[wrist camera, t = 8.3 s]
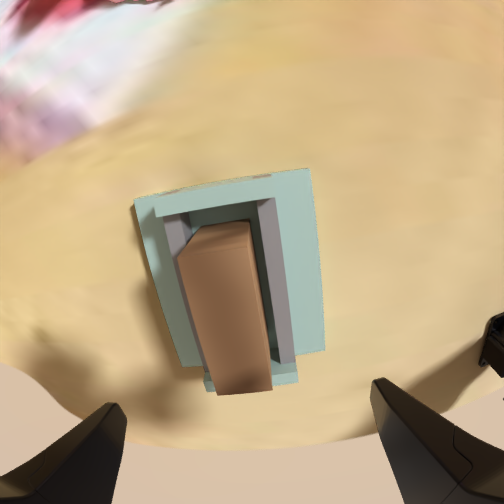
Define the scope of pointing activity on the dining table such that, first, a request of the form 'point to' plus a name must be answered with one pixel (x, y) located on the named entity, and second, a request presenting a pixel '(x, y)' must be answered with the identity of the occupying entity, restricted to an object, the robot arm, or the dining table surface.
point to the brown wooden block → (228, 306)
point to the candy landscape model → (117, 0)
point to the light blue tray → (267, 255)
